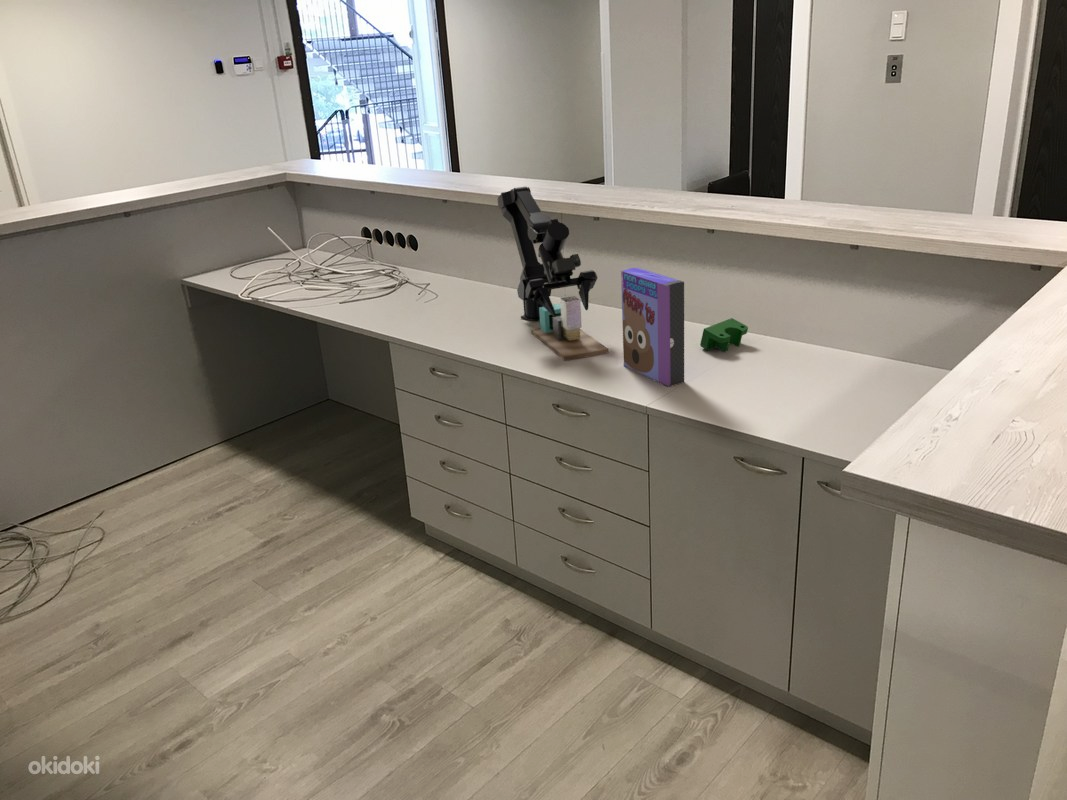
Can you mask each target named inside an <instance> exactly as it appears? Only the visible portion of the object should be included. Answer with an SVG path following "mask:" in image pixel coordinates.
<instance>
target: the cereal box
mask: <svg viewBox="0 0 1067 800" xmlns="http://www.w3.org/2000/svg"><path fill="white" fill-rule="evenodd" d="M620 277H621V279H620V280H621V282H620V284H621V315H622V318H621V319H622V340H623V341H622V346H623V348H622V349H623V350H622V351H623V353H622V354H623V367H625V368H626V369H629V370H631V371H633V372H635V373H638V374H639V375H642V376H644V377H646V378H647V379H650V380H652V381H654V380H655V381H654V382H656V383H658V382H659V383H658V384H660V383H661V384H660V385H662V384H663V385H662V386H665V387H667V388H669V387H672V385H673V386H676V385H679V383H680V384H683V383H685V281H682V280H679V279H676V278H673V277H671V276H670V277H669V276H666V275H662V274H660V273H656V272H653V271H650V270H647V269H643V268H640V267H631V268H627V269H623V270H621V271H620ZM682 382H683V383H682ZM675 384H676V385H675ZM668 386H669V387H668Z"/></svg>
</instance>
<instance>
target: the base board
mask: <svg viewBox="0 0 1067 800" xmlns="http://www.w3.org/2000/svg"><path fill="white" fill-rule="evenodd" d="M530 333H531V334H532V335H533V336H534V337H536V338H537V339H538V340H539V341H541V342H542V344H544V345H545V346H547V347H548V349H550V350H551V351H553V352H554V353H555V354H556V355H557V356H559V357H560V358H561V359H562V360H564V361H566V362H567V361H571V360H575V359H582V358H587V357H592V356H596V355H602V354H609V352H610V350H609V348H608V347H607V346H606V345H604V344H603V343H601V342H600V341H598V340H597V339H595V338H594V337H593V336H592V335H590V334H588V333H587V332H585V331H584V330H583V329H581V328H580V339H576V340H571V341H569V340H568V339H566V340H560V341H559V340H558V339H556V338H555V337H554V333H553V332H548V333H545V332H544V331H543V330H541V329H540V327H537V328H532V329H530Z"/></svg>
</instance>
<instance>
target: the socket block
mask: <svg viewBox="0 0 1067 800" xmlns="http://www.w3.org/2000/svg"><path fill="white" fill-rule="evenodd" d="M552 305H553V307H554V311H555V314H558V313H560V314H561V306H560V303H558V304H552ZM539 314H540V320H539V324H540V325H539V326H540V327H539V328H540V329H541V330H543V331H544V332H545V333H548V332H553V328H552V327H551V326H550V325H549V315H552V314H551V313H550V312H549V311H548V310H546V309H545V308H544V307H540V308H539Z"/></svg>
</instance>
